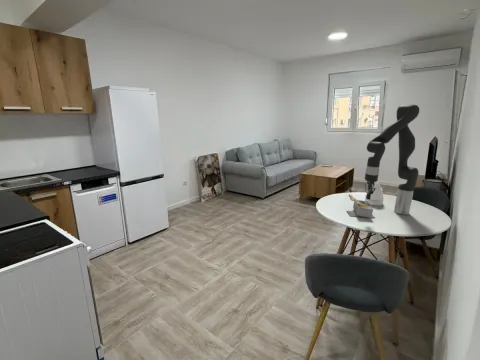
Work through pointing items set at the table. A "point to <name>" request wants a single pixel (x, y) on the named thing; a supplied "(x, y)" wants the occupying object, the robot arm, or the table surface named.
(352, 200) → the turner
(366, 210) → the coffee box
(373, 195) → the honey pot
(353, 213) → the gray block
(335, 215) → the table surface
